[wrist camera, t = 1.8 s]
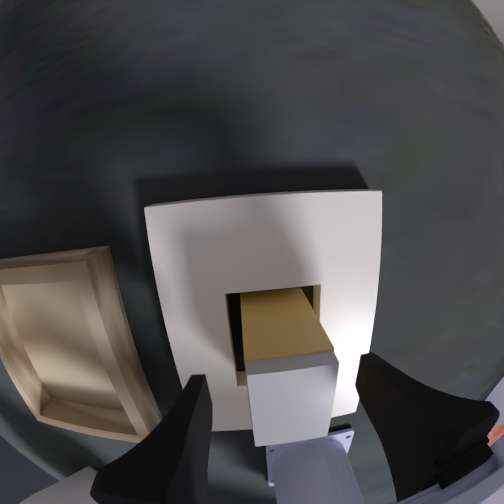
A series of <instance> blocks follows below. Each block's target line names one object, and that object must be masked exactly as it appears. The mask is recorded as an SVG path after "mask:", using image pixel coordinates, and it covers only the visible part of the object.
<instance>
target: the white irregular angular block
mask: <svg viewBox="0 0 504 504" xmlns="http://www.w3.org/2000/svg"><path fill="white" fill-rule="evenodd" d="M97 472H98V470H97V469H95V468H93V467H91V466H87V467H85V468H83V469H82V470H80V471H78V472H76V473H75V474H73V475H71V476H69V477H67V478H65V479H63V480H61V481H60V482H58V483H56V484H54V485H52V486H50V487H48V488H46V489H44V490H42V491H39V492H37V493H35V494H34V495H32V496H30V497H29V498H27V499H26V500H24V501H23V502H21V503H19V504H98V503H97V502H96V501H95V500H94V499H93V498H92V497H91V495H90V491H91V487H92V484H93V481H94V478H95V475H96V474H97Z"/></svg>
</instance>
